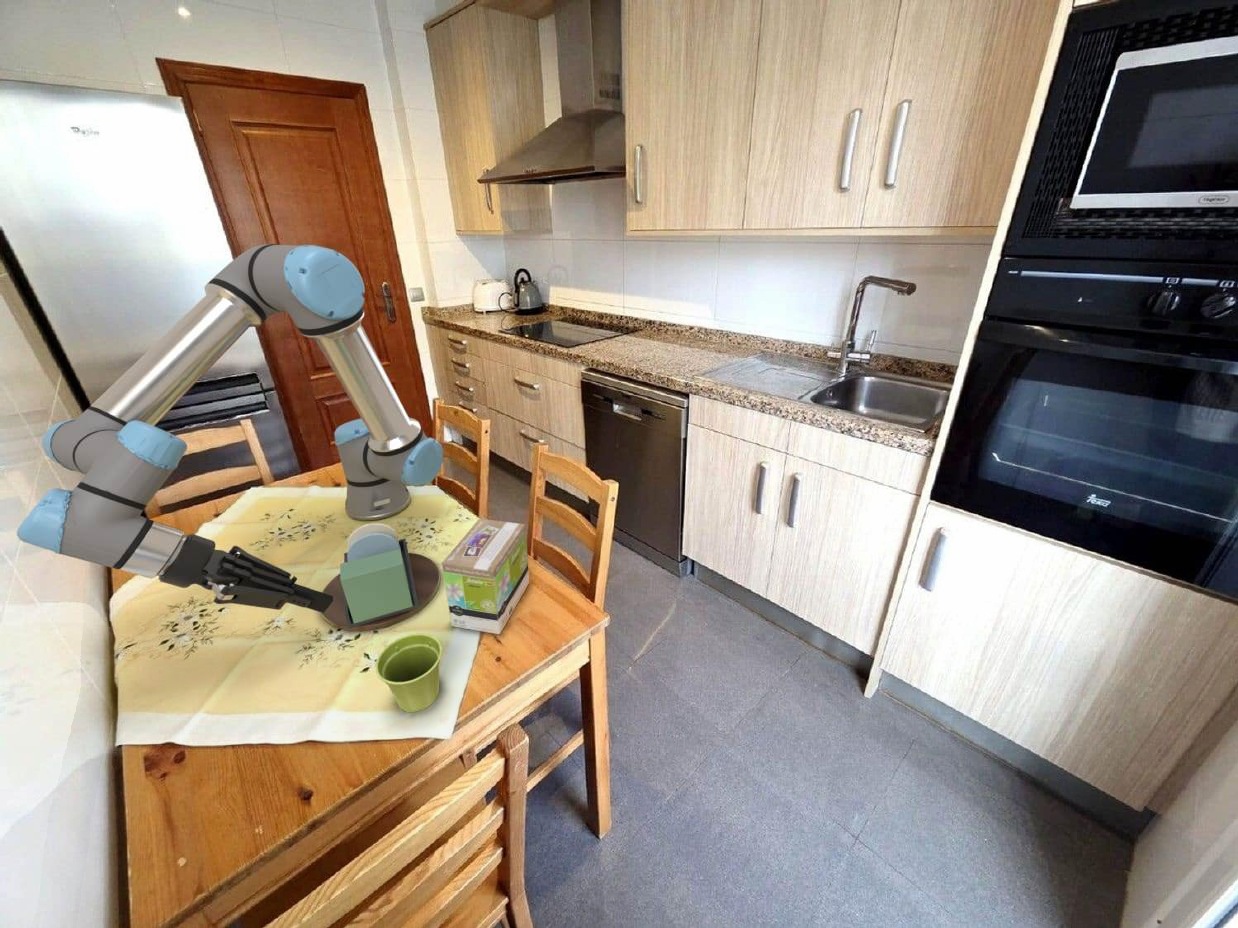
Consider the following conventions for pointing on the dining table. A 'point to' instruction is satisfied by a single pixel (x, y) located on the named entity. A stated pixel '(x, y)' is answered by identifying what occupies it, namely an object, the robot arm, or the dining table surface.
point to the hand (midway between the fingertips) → (328, 604)
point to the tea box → (486, 575)
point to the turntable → (425, 589)
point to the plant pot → (411, 670)
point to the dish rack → (376, 575)
